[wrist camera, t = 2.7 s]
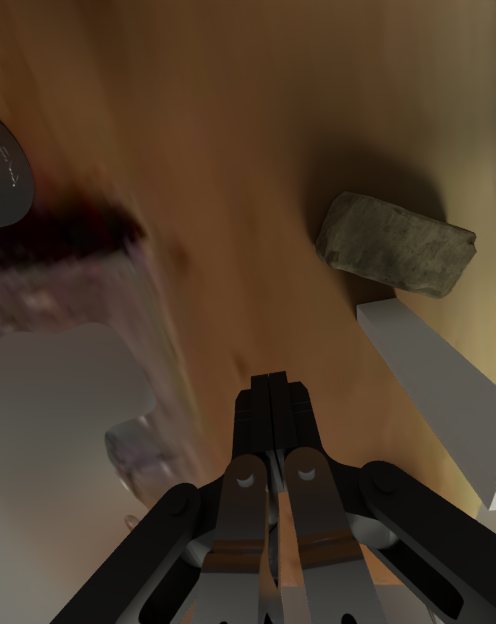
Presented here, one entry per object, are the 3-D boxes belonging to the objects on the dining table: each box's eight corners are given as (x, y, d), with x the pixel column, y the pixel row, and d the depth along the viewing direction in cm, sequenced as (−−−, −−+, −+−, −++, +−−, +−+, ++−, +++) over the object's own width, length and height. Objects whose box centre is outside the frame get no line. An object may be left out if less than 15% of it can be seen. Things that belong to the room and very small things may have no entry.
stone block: (416, 282, 27) (449, 305, 23) (307, 251, 26) (319, 268, 21) (452, 224, 24) (496, 236, 20) (333, 186, 23) (352, 190, 19)
